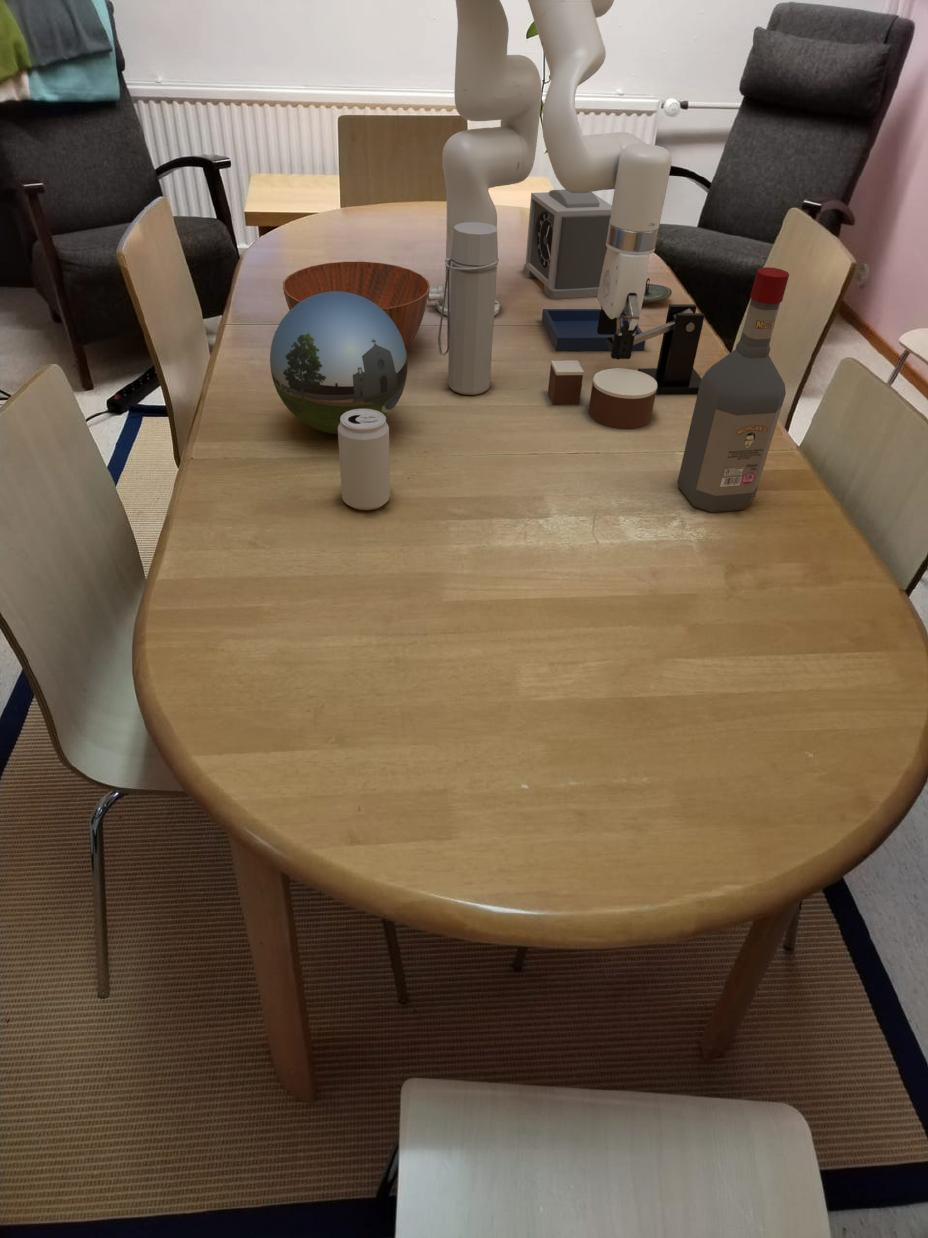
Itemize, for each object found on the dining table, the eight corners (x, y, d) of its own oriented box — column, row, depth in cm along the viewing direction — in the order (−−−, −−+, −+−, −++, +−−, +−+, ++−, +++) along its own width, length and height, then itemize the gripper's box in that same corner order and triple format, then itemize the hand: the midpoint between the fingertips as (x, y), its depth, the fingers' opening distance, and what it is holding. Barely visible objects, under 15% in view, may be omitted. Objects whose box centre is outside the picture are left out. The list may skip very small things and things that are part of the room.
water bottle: (496, 382, 143) (507, 224, 127) (482, 400, 137) (491, 238, 121) (445, 373, 145) (449, 216, 129) (429, 391, 139) (431, 230, 123)
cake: (596, 429, 131) (601, 395, 127) (582, 400, 139) (586, 368, 135) (658, 428, 132) (665, 394, 129) (641, 400, 140) (647, 367, 136)
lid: (674, 314, 175) (684, 290, 173) (634, 306, 171) (644, 280, 169) (649, 299, 183) (658, 276, 181) (611, 291, 179) (620, 266, 176)
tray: (556, 351, 154) (557, 337, 153) (541, 321, 165) (542, 308, 164) (643, 350, 156) (646, 337, 155) (623, 321, 167) (625, 308, 166)
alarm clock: (522, 270, 189) (529, 180, 177) (576, 267, 192) (587, 179, 180) (551, 299, 175) (560, 203, 164) (609, 295, 179) (623, 201, 167)
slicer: (649, 394, 141) (664, 318, 133) (636, 374, 148) (650, 300, 139) (707, 393, 143) (724, 318, 134) (691, 374, 149) (708, 300, 140)
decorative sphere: (428, 444, 125) (430, 309, 112) (301, 470, 118) (287, 329, 105) (379, 391, 138) (375, 265, 126) (261, 411, 131) (245, 279, 118)
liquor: (759, 509, 115) (829, 284, 95) (697, 515, 113) (755, 286, 94) (729, 476, 121) (789, 258, 102) (670, 480, 120) (719, 260, 101)
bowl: (454, 362, 149) (457, 296, 141) (323, 389, 138) (318, 320, 131) (390, 315, 165) (388, 254, 157) (267, 336, 154) (260, 272, 147)
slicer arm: (616, 363, 138) (612, 350, 137) (607, 349, 143) (604, 336, 141) (699, 330, 136) (697, 317, 135) (688, 317, 141) (685, 303, 139)
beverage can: (342, 488, 115) (337, 406, 107) (390, 487, 115) (388, 406, 108) (341, 513, 110) (336, 429, 102) (390, 513, 110) (389, 429, 103)
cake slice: (552, 404, 137) (556, 371, 134) (547, 392, 140) (551, 360, 137) (579, 404, 138) (583, 371, 134) (573, 392, 141) (577, 360, 137)
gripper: (595, 219, 135) (579, 324, 146) (622, 255, 122) (603, 368, 133) (640, 220, 136) (621, 325, 147) (672, 256, 123) (649, 368, 134)
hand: (613, 345), depth 140 cm, fingers open, 9 cm apart
